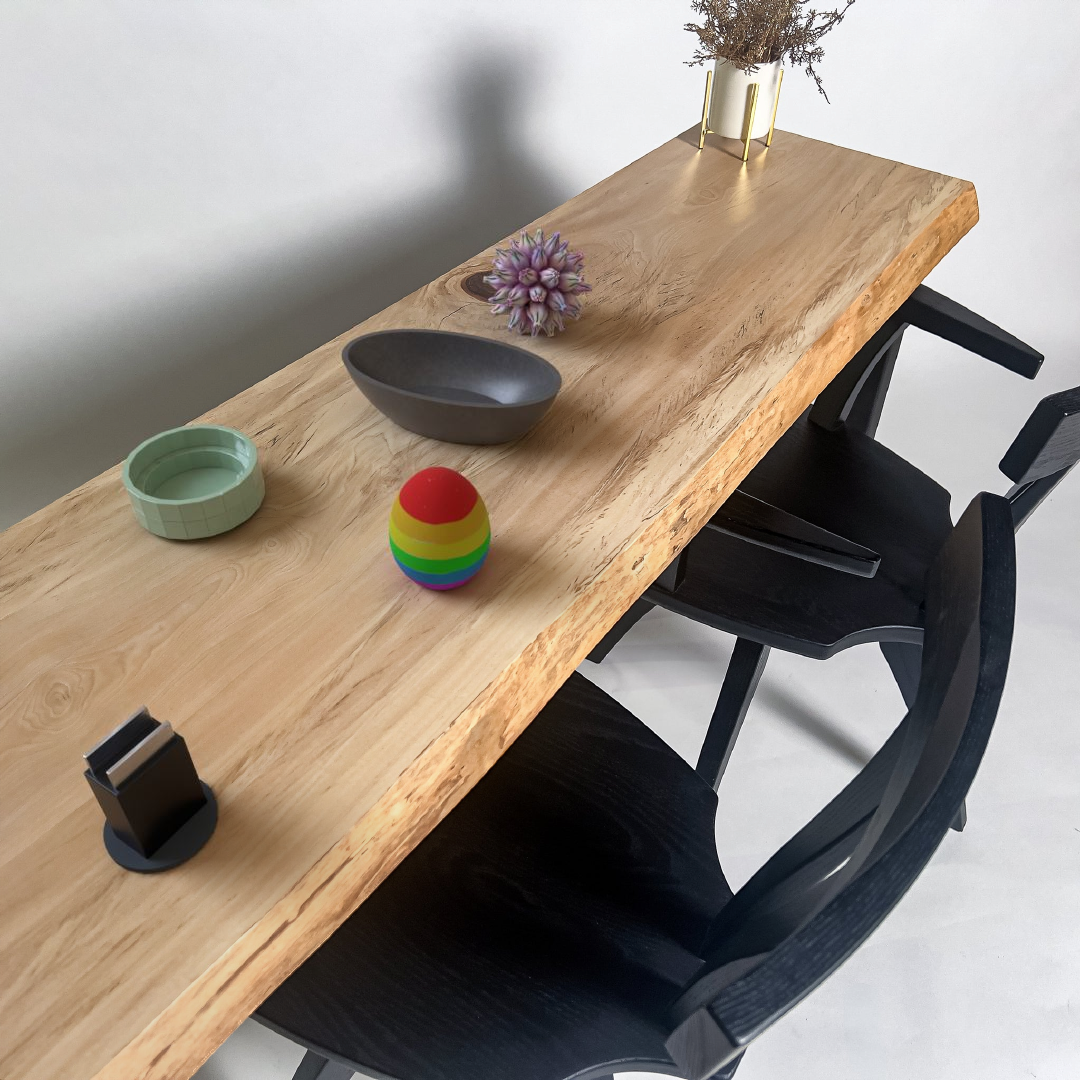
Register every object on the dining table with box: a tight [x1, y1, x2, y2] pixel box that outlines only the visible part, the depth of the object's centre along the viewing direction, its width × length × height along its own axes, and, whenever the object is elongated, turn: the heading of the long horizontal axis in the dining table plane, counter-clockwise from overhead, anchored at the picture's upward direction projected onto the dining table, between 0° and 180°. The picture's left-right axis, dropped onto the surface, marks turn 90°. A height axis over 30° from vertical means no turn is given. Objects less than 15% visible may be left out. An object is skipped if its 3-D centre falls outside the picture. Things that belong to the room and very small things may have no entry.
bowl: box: [341, 328, 563, 446], centre depth 94 cm, size 12×22×6 cm, turn 71°
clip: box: [82, 704, 208, 859], centre depth 59 cm, size 5×3×9 cm, turn 147°
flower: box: [482, 228, 593, 340], centre depth 106 cm, size 12×12×12 cm
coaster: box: [102, 778, 219, 874], centre depth 62 cm, size 7×7×1 cm
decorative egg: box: [388, 466, 492, 591], centre depth 77 cm, size 8×8×10 cm
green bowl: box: [121, 423, 266, 540], centre depth 85 cm, size 11×11×4 cm
